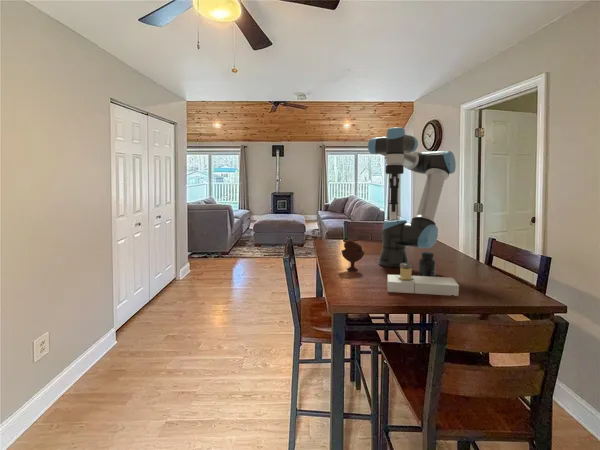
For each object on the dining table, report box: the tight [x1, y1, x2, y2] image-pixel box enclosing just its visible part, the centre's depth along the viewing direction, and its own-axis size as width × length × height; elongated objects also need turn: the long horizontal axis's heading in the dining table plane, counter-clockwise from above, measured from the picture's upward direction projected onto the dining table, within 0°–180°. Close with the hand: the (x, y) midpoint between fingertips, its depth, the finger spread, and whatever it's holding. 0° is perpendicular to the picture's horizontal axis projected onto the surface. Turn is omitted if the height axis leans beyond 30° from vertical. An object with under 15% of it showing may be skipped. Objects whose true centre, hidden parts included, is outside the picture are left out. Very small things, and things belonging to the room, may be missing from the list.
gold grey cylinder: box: [399, 263, 413, 281], centre depth 151 cm, size 5×5×10 cm
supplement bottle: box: [418, 251, 437, 277], centre depth 164 cm, size 7×7×12 cm
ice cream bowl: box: [340, 239, 365, 272], centre depth 183 cm, size 11×11×15 cm
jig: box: [386, 274, 460, 297], centre depth 150 cm, size 12×26×4 cm, turn 78°
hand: (393, 219), depth 165 cm, fingers closed
